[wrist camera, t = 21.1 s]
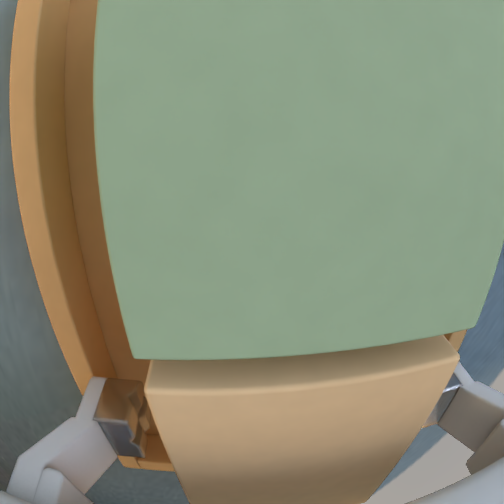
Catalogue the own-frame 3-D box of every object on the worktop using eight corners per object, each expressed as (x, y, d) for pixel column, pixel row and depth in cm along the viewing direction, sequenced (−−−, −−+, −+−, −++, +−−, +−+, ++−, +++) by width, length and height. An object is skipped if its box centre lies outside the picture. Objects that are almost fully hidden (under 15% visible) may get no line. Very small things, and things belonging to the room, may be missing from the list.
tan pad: (373, 254, 9) (463, 356, 5) (335, 410, 12) (366, 502, 7) (175, 259, 8) (141, 390, 4) (199, 420, 11) (198, 522, 7)
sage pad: (385, -9, 6) (496, -65, 2) (377, 234, 8) (475, 329, 4) (171, -28, 5) (128, -135, 1) (174, 237, 8) (131, 360, 4)
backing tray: (464, -17, 6) (500, -29, 4) (392, 413, 13) (407, 443, 11) (64, -45, 5) (35, -69, 3) (130, 432, 12) (123, 467, 10)
